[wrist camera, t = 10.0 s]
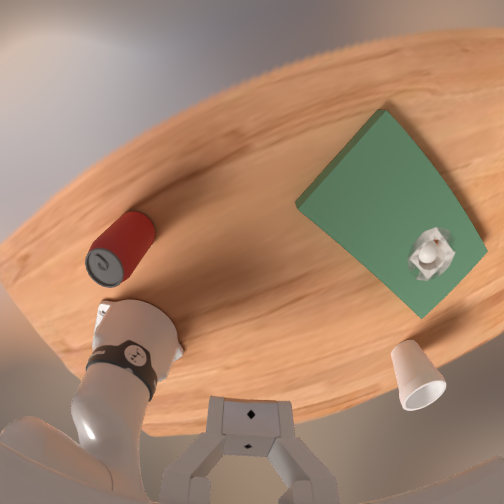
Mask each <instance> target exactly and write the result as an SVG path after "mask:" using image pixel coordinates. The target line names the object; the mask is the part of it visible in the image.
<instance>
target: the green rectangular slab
mask: <svg viewBox="0 0 504 504" xmlns="http://www.w3.org/2000/svg"><path fill="white" fill-rule="evenodd" d="M295 204H296V206H297V209H298V210H299V211H300V212H301V213H303V214H304V215H305V216H306V217H308V218H309V219H310V220H311V221H312V222H314V223H315V224H316V225H317V226H318V227H320V228H321V229H322V230H323V231H324V232H326V233H327V234H328V235H329V236H330V237H332V238H333V239H334V240H335V241H336V242H337V243H339V244H340V245H341V246H342V247H343V248H344V249H346V250H347V251H348V252H349V253H350V254H351V255H352V256H354V257H355V258H356V259H357V260H358V261H359V262H360V263H362V264H363V265H364V266H365V267H366V268H367V269H368V270H369V271H370V272H372V273H373V274H374V275H375V276H376V277H377V278H378V279H379V280H380V281H382V282H383V283H384V284H385V285H386V286H387V287H388V288H389V289H390V290H391V291H392V292H393V293H395V294H396V295H397V296H398V297H399V298H400V299H401V300H402V301H403V302H404V303H405V304H406V305H407V306H408V307H409V308H410V309H411V310H413V311H414V312H415V313H416V314H417V315H418V316H419V317H420V318H421V319H422V318H423V317H425V316H426V315H427V314H428V313H429V312H430V311H431V310H432V309H433V308H434V307H435V306H436V305H437V304H438V303H439V302H441V301H442V300H443V299H444V298H445V297H446V296H447V295H448V294H449V293H450V292H451V291H452V290H453V289H454V288H455V287H456V286H457V285H458V284H459V282H460V281H461V280H462V279H463V278H464V277H465V276H466V275H467V274H468V273H469V272H470V271H471V270H472V269H473V267H474V266H475V265H476V264H477V263H478V262H479V261H480V260H481V258H482V257H483V256H484V255H485V254H486V253H487V252H488V251H487V249H486V247H485V245H484V243H483V241H482V240H481V238H480V236H479V234H478V232H477V231H476V229H475V227H474V226H473V224H472V222H471V221H470V219H469V217H468V216H467V214H466V212H465V211H464V209H463V208H462V206H461V204H460V203H459V201H458V200H457V198H456V197H455V195H454V194H453V192H452V191H451V189H450V188H449V187H448V185H447V184H446V182H445V181H444V179H443V178H442V177H441V175H440V174H439V173H438V171H437V170H436V168H435V167H434V166H433V165H432V163H431V162H430V161H429V159H428V158H427V157H426V155H425V154H424V153H423V152H422V150H421V149H420V148H419V147H418V145H417V144H416V143H415V142H414V141H413V139H412V138H411V137H410V136H409V135H408V134H407V132H406V131H405V130H404V129H403V128H402V127H401V125H400V124H399V123H398V122H397V121H396V120H395V119H394V118H393V117H392V116H391V114H390V113H389V112H388V111H387V110H377V111H376V112H375V113H374V115H373V116H372V117H371V118H370V119H369V120H368V121H367V122H366V123H365V125H364V126H363V127H362V128H361V129H360V130H359V131H358V132H357V134H356V135H355V136H354V137H353V138H352V139H351V140H350V141H349V142H348V144H347V145H346V146H345V147H344V148H343V149H342V150H341V151H340V153H339V154H338V155H337V156H336V157H335V158H334V159H333V160H332V161H331V163H330V164H329V165H328V166H327V167H326V168H325V169H324V170H323V172H322V173H321V174H320V175H319V176H318V177H317V178H316V179H315V181H314V182H313V183H312V184H311V185H310V186H309V187H308V188H307V189H306V191H305V192H304V193H303V194H302V195H301V196H300V197H299V198H298V200H297V201H296V202H295ZM434 239H437V241H438V255H437V258H436V259H435V260H434V261H433V262H431V263H423V262H421V261H419V258H418V257H419V254H420V252H421V249H422V248H423V247H424V246H425V244H426V243H427V242H429V241H432V240H434Z"/></svg>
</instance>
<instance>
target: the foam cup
mask: <svg viewBox="0 0 504 504" xmlns="http://www.w3.org/2000/svg"><path fill="white" fill-rule="evenodd" d="M391 356H392V361H393V365H394V369H395V374H396V378H397V383H398V388H399V392H400V394H399V397H400V400H401V403H402V406H403V409H405V410H408V411H411V410H417V409H420V408H423V407H426V406H427V405H429V404H431V403H432V402H434V401H435V400H436V399H437V398H439V397H440V396H441V395H442V393H443V392H444V390H445V389H446V382H445V380H444V378H443V376H442V374H441V373H439V372H438V370H437V369H436V368H435V366H434V365H433V363H432V362H431V361H430V359H429V358H428V357H427V355H426V354H425V353H424V351H423V350H422V349H421V347H420V346H419V345H418V344H417V342H416V341H414V340H406V341H402V342H401V343H399V344H398V345H396V347H395V348H394V349H393V350H392V353H391Z"/></svg>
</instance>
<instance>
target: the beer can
mask: <svg viewBox="0 0 504 504" xmlns="http://www.w3.org/2000/svg"><path fill="white" fill-rule="evenodd" d="M154 239H155V229H154V226H153V223H152V222H151V221H150V219H149V218H148V217H147V216H145V215H144V214H142V213H140V212H134V211H130V212H127V213H125V214H123V215H122V216H121V217H120V218H119V219H117V220H116V221H115V222H114V223H113V224H112V225H111V226H110V227H109V228H108V229H107V230H106V231H104V232H103V233H102V234H101V235H100V236H99V237H98V238H97V239H96V240H95V241H94V242H93V244H92V245H91V247H90V249H89V252H88V254H87V256H86V259H85V265H86V270H87V272H88V274H89V276H90V277H91V278H92V279H93V280H94V281H95V282H96V283H97V284H99V285H101V286H103V287H108V288H112V287H116V286H118V285H119V284H120V283H122V282H124V281H125V280H127V279H128V278H129V277H130V276H131V274H132V273H133V271H134V270H135V268H136V267H137V265H138V264H139V262H140V261H141V259H142V258H143V256H144V255H145V254H146V252H147V251H148V249H149V248H150V246H151V245H152V244H153V242H154Z"/></svg>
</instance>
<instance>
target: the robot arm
mask: <svg viewBox="0 0 504 504" xmlns="http://www.w3.org/2000/svg"><path fill="white" fill-rule="evenodd" d="M104 311H105V312H104ZM92 348H93V353H92V355H91V356H90V358H89V360H88V364H87V366H86V373H85V375H84V377H83V379H82V381H81V383H80V385H79V387H78V389H77V391H76V393H75V395H74V397H73V400H72V404H71V413H72V417H73V420H74V423H75V425H76V428H77V431H78V435H79V441H80V445H79V444H77V443H76V442H75V441H74V440H72V439H71V438H70V437H69V436H68V435H66V434H64V433H63V432H61V431H59V430H57V429H56V428H54V427H53V426H51V425H49V424H47V423H46V422H44V421H42V420H41V419H39V418H37V417H33V416H28V417H21V418H18V419H16V420H14V421H12V422H10V423H9V424H8V425H7V426H6V427H5V428H4V429H3V431H2V432H1V434H0V504H210V491H211V481H210V480H209V479H207V478H205V477H206V476H207V475H208V474H209V473H210V471H211V470H212V469H213V468H214V466H215V465H216V464H217V463H218V461H219V460H220V459H221V458H222V456H223V455H241V456H260V457H267V459H268V460H269V461H270V463H271V464H272V466H273V467H274V468H275V470H276V471H277V473H278V474H279V476H280V477H281V478H282V480H283V481H284V482H285V484H286V485H287V487H288V488H289V489H288V490H287V491H286V492H285V493H284V494H283V495H282V496H281V497H280V498H279V500H278V504H340V500H339V493H338V487H337V482H336V477H335V476H334V475H333V474H332V473H331V472H330V471H329V469H328V468H327V467H326V466H325V465H324V464H323V463H322V462H321V461H320V460H319V459H318V458H317V457H316V456H315V455H314V454H313V452H312V451H311V450H310V449H309V448H308V447H307V446H306V445H305V443H304V442H303V441H302V440H301V439H300V438H298V437H295V430H294V421H293V413H292V404H291V402H290V401H276V400H251V399H250V400H247V399H235V398H225V397H217V396H210V399H209V408H208V417H207V426H206V433H203V432H202V433H201V434H200V435H199V436H198V437H197V438H196V439H195V440H194V441H193V442H192V443H191V444H190V445H189V447H187V448H186V449H185V450H184V451H183V452H182V453H181V454H180V455H179V456H178V457H177V458H176V459H175V460H174V461H173V462H172V463H171V464H170V465H169V466H168V467H167V468H166V469H165V470H164V472H163V478H162V484H161V490H160V496H159V502H153V501H150V500H149V499H148V497H147V495H146V493H145V490H144V487H143V484H142V479H141V472H140V462H139V438H140V432H141V427H142V423H143V419H144V416H145V412H146V408H147V405H148V402H149V401H151V399H152V397H153V394H154V393H155V390H156V385H157V382H161V381H162V380H163V379H166V378H167V376H168V373H169V371H170V368H171V365H172V363H173V362H174V361H176V360H177V359H179V358H181V357H182V355H183V353H184V350H183V348H182V347H181V345H180V344H179V342H178V336H177V331H176V328H175V326H174V324H173V323H172V321H171V320H170V319H169V317H168V316H167V315H166V314H165V313H163V312H162V311H161V310H159V309H158V308H156V307H155V306H153V305H151V304H148V303H146V302H143V301H139V300H122V301H118V302H112V301H101V302H100V304H99V308H98V313H97V318H96V324H95V330H94V335H93V343H92ZM359 504H504V458H502V457H500V456H495V457H492V458H490V459H488V460H486V461H484V462H482V463H480V464H478V465H476V466H474V467H472V468H469V469H467V470H465V471H463V472H460V473H458V474H456V475H453V476H451V477H448V478H446V479H443V480H440V481H438V482H435V483H432V484H430V485H427V486H424V487H421V488H417V489H414V490H411V491H408V492H404V493H401V494H397V495H394V496H390V497H386V498H382V499H377V500H373V501H368V502H364V503H359Z"/></svg>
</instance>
